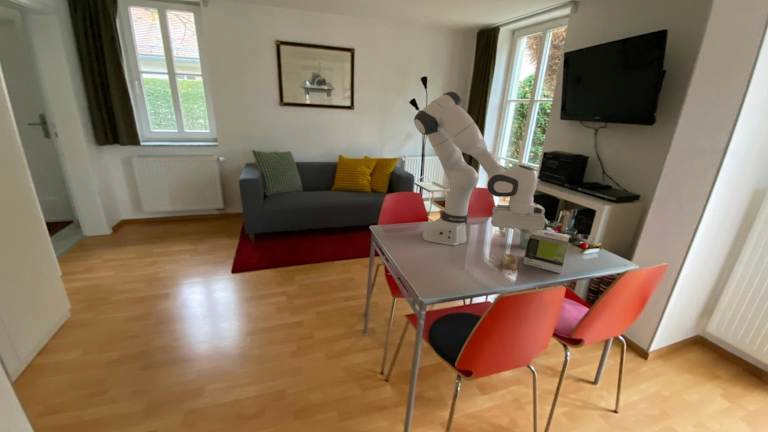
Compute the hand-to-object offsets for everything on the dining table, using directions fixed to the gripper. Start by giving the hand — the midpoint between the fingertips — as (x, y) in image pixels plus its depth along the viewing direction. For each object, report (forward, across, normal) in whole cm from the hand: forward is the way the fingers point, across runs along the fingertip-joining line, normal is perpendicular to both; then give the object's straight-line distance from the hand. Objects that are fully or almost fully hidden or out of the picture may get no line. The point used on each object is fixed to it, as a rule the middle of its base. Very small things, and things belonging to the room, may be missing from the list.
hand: (514, 237), depth 132 cm
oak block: (+14, 0, 0) cm, 14 cm away
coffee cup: (+14, +13, +25) cm, 32 cm away
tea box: (+14, +16, +6) cm, 22 cm away
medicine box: (+14, +24, +26) cm, 39 cm away
